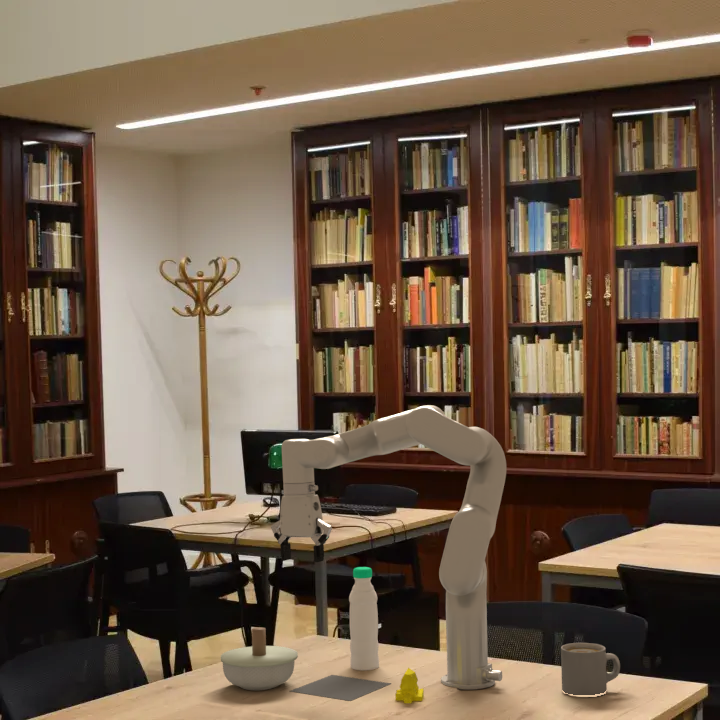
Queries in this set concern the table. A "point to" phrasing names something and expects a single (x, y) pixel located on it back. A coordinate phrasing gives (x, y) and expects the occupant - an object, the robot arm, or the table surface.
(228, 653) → the lid
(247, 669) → the cereal bowl
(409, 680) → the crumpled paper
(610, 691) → the table surface
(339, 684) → the mat
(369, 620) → the water bottle
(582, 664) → the coffee mug
